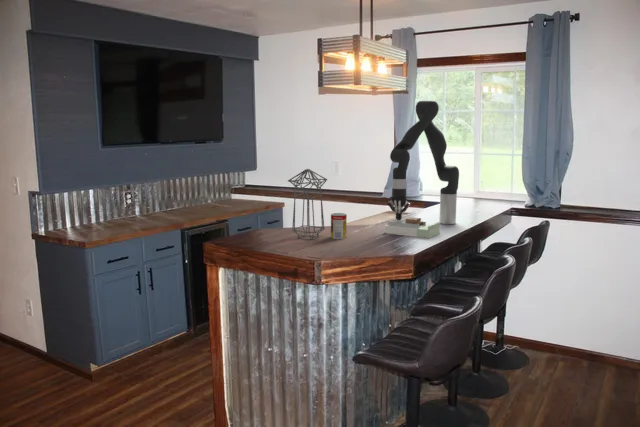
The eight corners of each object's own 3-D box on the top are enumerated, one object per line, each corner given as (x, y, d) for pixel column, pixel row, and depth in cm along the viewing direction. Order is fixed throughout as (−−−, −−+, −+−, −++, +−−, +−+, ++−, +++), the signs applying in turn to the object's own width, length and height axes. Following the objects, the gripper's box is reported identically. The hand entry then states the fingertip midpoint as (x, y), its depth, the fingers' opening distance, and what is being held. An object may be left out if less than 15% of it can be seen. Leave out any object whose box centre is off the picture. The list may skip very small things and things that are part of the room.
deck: (395, 228, 302) (396, 218, 301) (439, 233, 289) (439, 222, 288) (384, 233, 290) (384, 221, 289) (429, 238, 277) (429, 226, 276)
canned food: (345, 236, 283) (345, 212, 281) (347, 239, 275) (347, 215, 273) (330, 236, 283) (330, 213, 281) (331, 239, 275) (331, 215, 273)
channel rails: (396, 222, 299) (396, 218, 299) (425, 225, 290) (425, 221, 290) (388, 225, 291) (388, 221, 290) (418, 228, 282) (418, 224, 281)
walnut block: (410, 224, 293) (410, 217, 292) (420, 225, 289) (420, 218, 289) (405, 226, 288) (405, 218, 287) (416, 227, 284) (416, 219, 284)
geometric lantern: (329, 237, 280) (329, 168, 274) (313, 243, 267) (312, 171, 261) (303, 233, 288) (302, 166, 282) (286, 239, 275) (285, 169, 269)
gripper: (413, 187, 290) (413, 220, 292) (390, 186, 297) (390, 217, 299) (408, 188, 283) (407, 222, 286) (384, 187, 290) (384, 219, 293)
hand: (398, 219), depth 293 cm, fingers closed
